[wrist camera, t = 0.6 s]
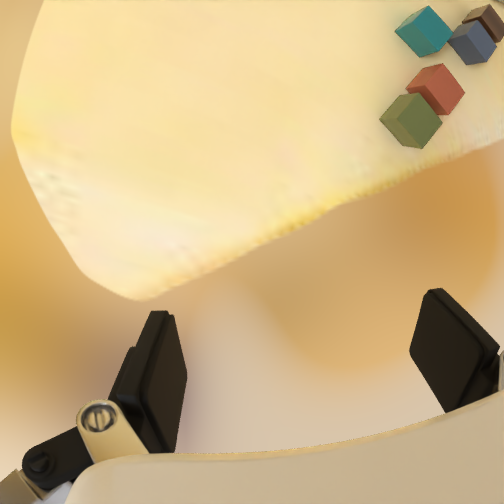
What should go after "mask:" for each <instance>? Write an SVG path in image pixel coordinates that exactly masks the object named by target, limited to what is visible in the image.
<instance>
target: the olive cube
mask: <svg viewBox="0 0 504 504" xmlns="http://www.w3.org/2000/svg"><path fill="white" fill-rule="evenodd" d="M379 120H380V121H381V122H382V123H383V124H384V125H385V126H386V127H387V128H388V129H389V131H390V132H391V133H392V134H393V135H394V136H395V137H396V138H397V140H398V141H399V142H400V143H401V144H402V145H403V146H407V147H414V148H420V149H423V147H424V146H425V145H426V144H427V142H428V141H429V140H430V139H431V137H432V136H433V135H434V133H435V132H436V131H437V130H438V128H439V127H440V126H441V124H442V121H441V120H440V118H439V117H438V116H437V114H436V113H435V112H434V111H433V109H432V108H431V107H430V106H429V104H428V103H427V102H426V101H425V99H424V98H423V97H422V96H421V95H420V93H412V94H406V95H400V96H399V97H398V98H397V99H396V100H395V102H394V103H393V104H392V105H391V106H390V107H389V109H388V110H387V111H386V112H385V113H384V114H383V115H382V117H381V118H380V119H379Z"/></svg>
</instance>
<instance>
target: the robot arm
mask: <svg viewBox="0 0 504 504" xmlns="http://www.w3.org/2000/svg"><path fill="white" fill-rule="evenodd" d="M499 348H500V346H499V344H498V343H497V342H496V341H495V340H494V339H493V338H492V337H491V336H490V335H489V334H488V333H487V332H486V331H485V330H484V329H483V327H482V326H480V324H479V323H478V322H476V320H475V319H474V318H473V317H472V316H471V315H470V314H469V313H468V312H467V311H466V310H465V309H464V308H462V307H461V305H459V303H457V302H456V301H455V300H454V299H453V298H452V297H451V296H450V295H449V294H448V293H447V292H446V291H445V290H444V289H442V288H437V289H430V290H428V292H427V293H426V294H425V295H424V297H423V301H422V305H421V309H420V313H419V317H418V321H417V324H416V328H415V331H414V335H413V338H412V342H411V346H410V350H409V352H410V355H411V358H412V359H413V361H414V362H415V364H416V365H417V367H418V368H419V370H420V372H421V373H422V375H423V377H424V378H425V380H426V381H427V383H428V385H429V386H430V388H431V390H432V391H433V393H434V395H435V396H436V398H437V400H438V401H439V403H440V404H441V406H442V408H443V410H444V412H445V414H443V415H440V416H437V417H434V418H431V419H428V420H425V421H422V422H419V423H415V424H412V425H409V426H406V427H402V428H399V429H395V430H391V431H387V432H384V433H380V434H376V435H371V436H367V437H362V438H358V439H353V440H348V441H343V442H337V443H331V444H325V445H319V446H313V447H305V448H297V449H288V450H278V451H265V452H249V453H226V454H225V453H224V454H194V453H191V454H189V453H187V454H179V453H178V454H177V453H176V454H175V453H174V451H175V447H176V441H177V434H178V428H179V422H180V416H181V410H182V404H183V399H184V393H185V388H186V382H187V369H186V366H185V361H184V357H183V353H182V349H181V345H180V340H179V336H178V332H177V327H176V323H175V318H174V316H173V315H169V313H168V311H151V312H150V314H149V317H148V319H147V321H146V323H145V326H144V328H143V330H142V332H141V335H140V337H139V339H138V342H137V344H136V347H130V349H129V350H128V352H127V355H126V357H125V359H124V361H123V364H122V366H121V369H120V371H119V373H118V376H117V378H116V380H115V383H114V385H113V387H112V390H111V392H110V395H109V397H108V400H105V399H99V400H94V401H91V402H89V403H87V404H85V405H84V406H83V407H82V408H81V409H80V410H79V412H78V414H77V417H76V424H77V426H76V427H74V428H72V429H70V430H68V431H66V432H64V433H62V434H60V435H58V436H56V437H54V438H51V439H50V440H47V441H45V442H43V443H41V444H39V445H36V446H34V447H33V448H31V449H29V451H27V453H26V454H25V455H24V458H23V460H22V468H23V469H21V470H20V471H18V470H17V469H15V470H14V471H13V472H12V473H11V474H9V475H8V476H7V477H6V478H5V479H4V480H2V481H1V482H0V504H504V351H503V352H502V353H501V354H500V356H499V355H498V354H497V352H498V350H499Z"/></svg>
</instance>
